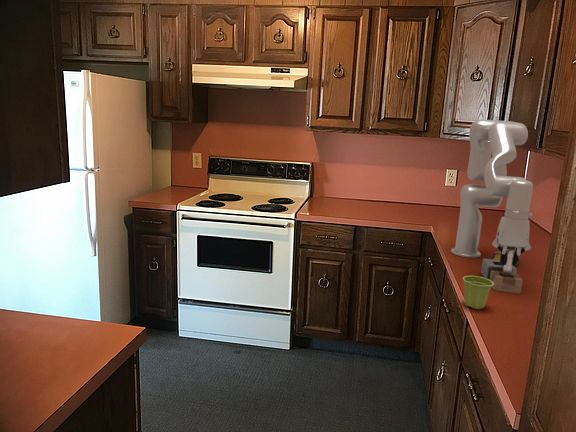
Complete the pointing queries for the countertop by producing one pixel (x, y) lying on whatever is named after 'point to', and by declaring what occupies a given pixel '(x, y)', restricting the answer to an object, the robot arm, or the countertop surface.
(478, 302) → the plant pot
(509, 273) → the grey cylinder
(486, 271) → the socket block
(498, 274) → the frame
